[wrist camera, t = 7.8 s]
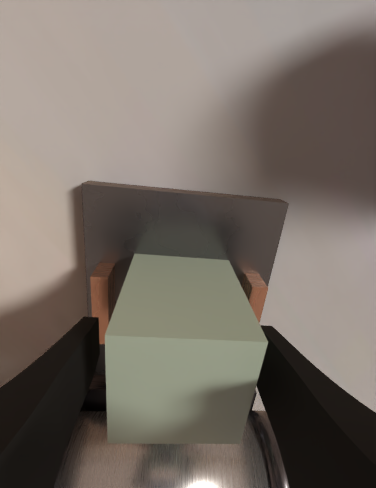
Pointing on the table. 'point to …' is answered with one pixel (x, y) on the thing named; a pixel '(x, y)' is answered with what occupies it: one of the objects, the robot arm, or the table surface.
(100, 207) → the motor mount
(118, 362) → the sage green cube
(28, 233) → the table surface
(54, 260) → the table surface
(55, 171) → the table surface
